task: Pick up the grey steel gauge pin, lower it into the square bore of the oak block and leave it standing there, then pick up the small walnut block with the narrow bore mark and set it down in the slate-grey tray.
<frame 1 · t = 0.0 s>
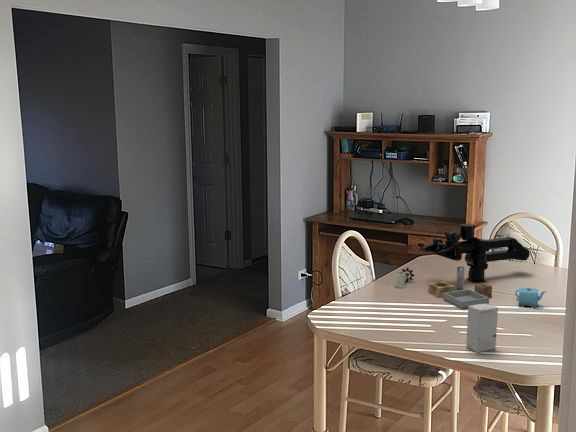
hand: (430, 251, 281), 17 cm above the table, tool horizontal, fingers open, 9 cm apart
oak block: (441, 293, 275), on the table
gauge pin: (459, 289, 280), on the table
skincare box: (480, 348, 217), on the table
walnut block: (482, 296, 270), on the table
teapot: (530, 306, 258), on the table
tray: (465, 302, 263), on the table
valve: (403, 285, 288), on the table
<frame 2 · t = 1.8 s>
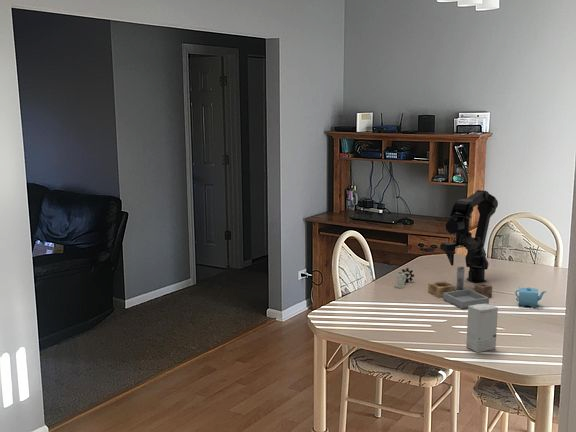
hand: (460, 264, 278), 11 cm above the table, tool pointing down, fingers open, 9 cm apart
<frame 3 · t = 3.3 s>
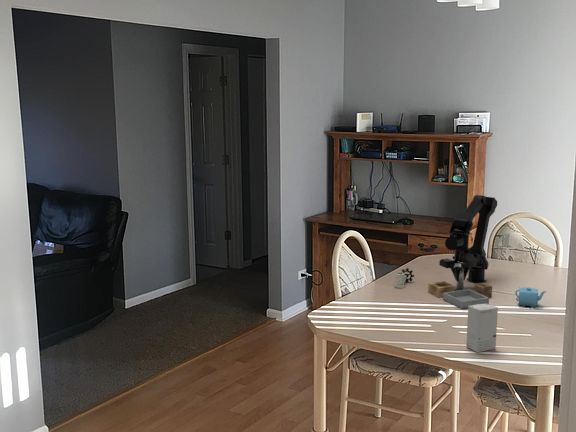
hand: (460, 280, 280), 4 cm above the table, tool pointing down, fingers closed on gauge pin, 3 cm apart
gauge pin: (459, 289, 280), on the table, touching gripper
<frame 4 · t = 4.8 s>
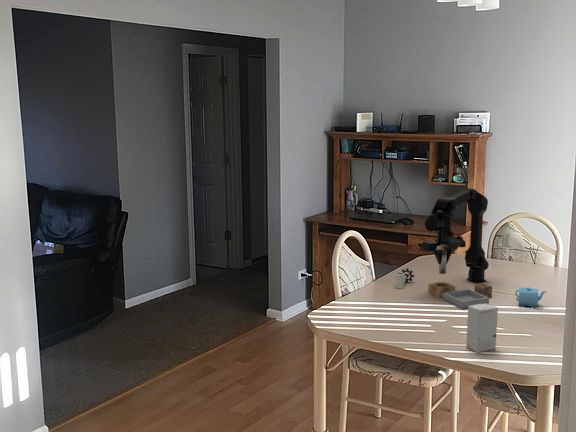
hand: (442, 263, 272), 13 cm above the table, tool pointing down, fingers closed on gauge pin, 3 cm apart
gauge pin: (442, 273, 273), point 9 cm above the table, touching gripper
when the fingers open (5 cm above the table, at t = 6.8 s): gauge pin drops 2 cm, resting in oak block.
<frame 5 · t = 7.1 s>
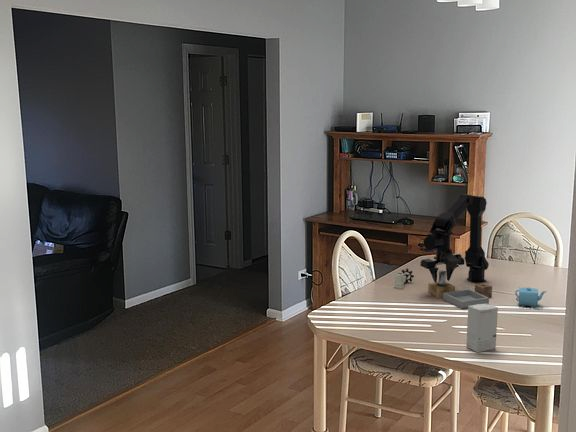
hand: (441, 281, 274), 5 cm above the table, tool pointing down, fingers open, 6 cm apart
gauge pin: (441, 293, 275), resting in oak block
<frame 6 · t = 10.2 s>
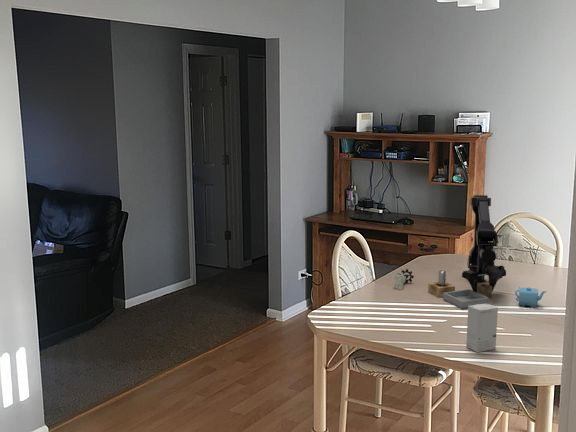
hand: (483, 293, 270), 2 cm above the table, tool pointing down, fingers open, 8 cm apart
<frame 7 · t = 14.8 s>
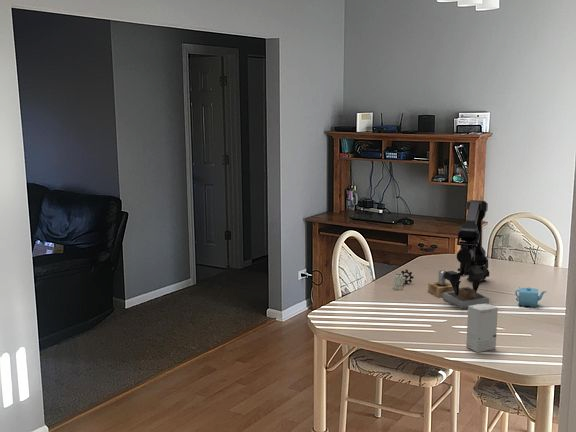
hand: (465, 294, 263), 3 cm above the table, tool pointing down, fingers open, 8 cm apart
walnut block: (465, 300, 263), point 1 cm above the table, touching tray
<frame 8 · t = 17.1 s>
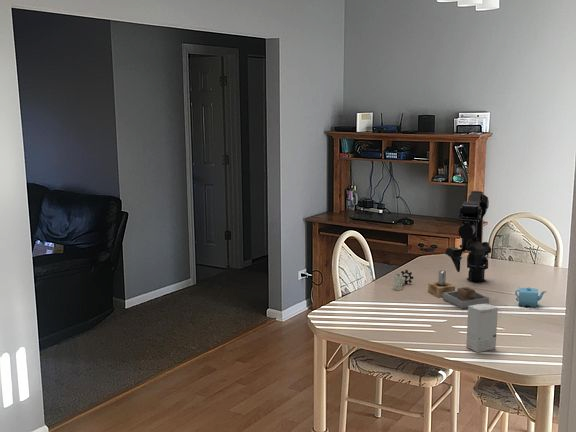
hand: (467, 270, 263), 13 cm above the table, tool pointing down, fingers open, 9 cm apart
at the end: walnut block inside the target area on the tray (0.1 cm from its centre), point 0.6 cm above the tray's base; gauge pin 0.0 cm from the oak block (horizontally); gauge pin resting in oak block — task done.
